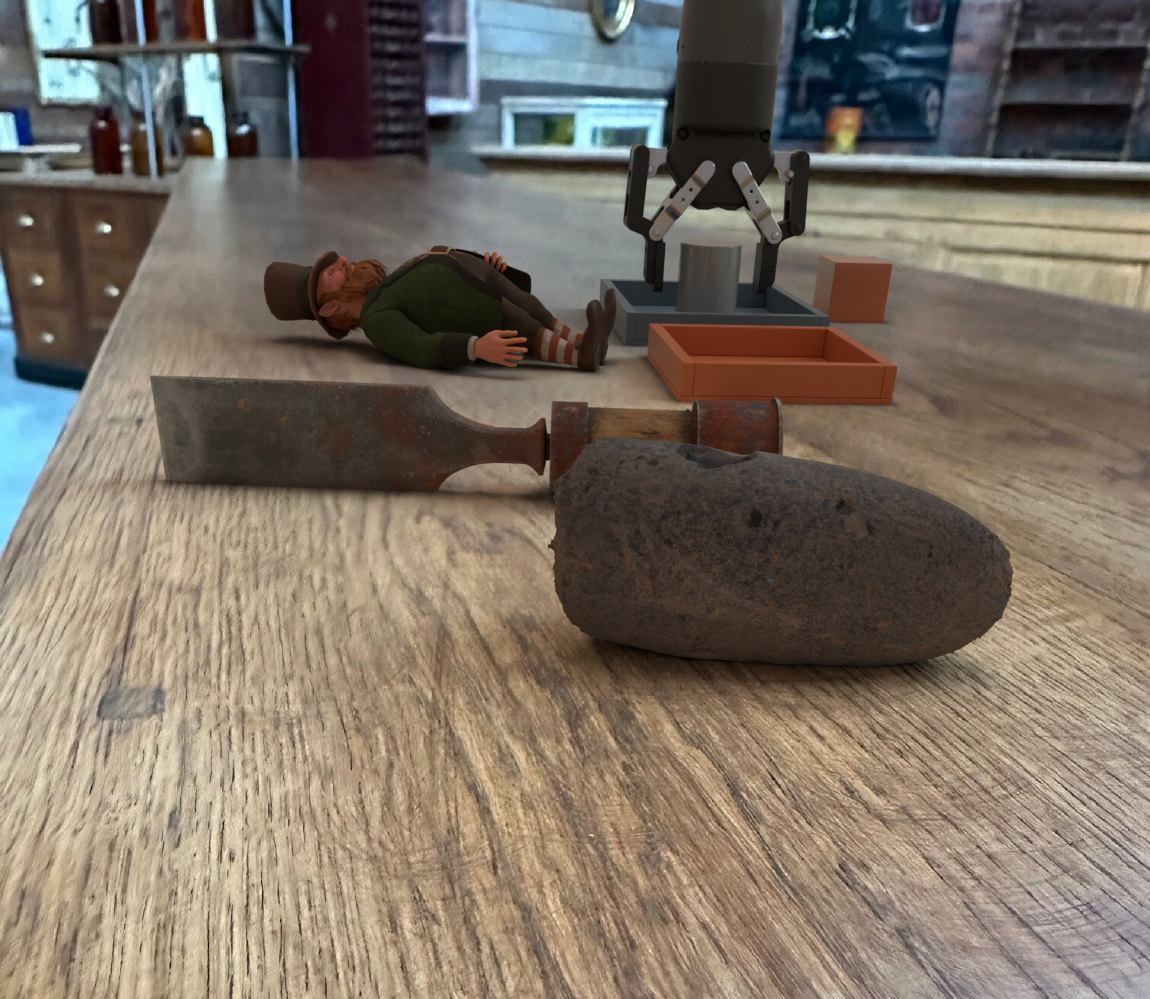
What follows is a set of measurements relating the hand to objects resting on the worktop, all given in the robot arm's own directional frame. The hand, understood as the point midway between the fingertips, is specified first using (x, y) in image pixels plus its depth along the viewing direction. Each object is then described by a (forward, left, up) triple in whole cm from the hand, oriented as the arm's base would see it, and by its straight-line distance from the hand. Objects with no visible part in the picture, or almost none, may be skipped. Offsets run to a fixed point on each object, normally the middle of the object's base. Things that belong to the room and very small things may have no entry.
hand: (707, 292), depth 92 cm
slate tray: (0, 0, -3) cm, 3 cm away
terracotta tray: (0, +20, -3) cm, 20 cm away
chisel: (+20, +45, -3) cm, 50 cm away
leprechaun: (+22, +14, -3) cm, 26 cm away
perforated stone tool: (+10, +63, -3) cm, 64 cm away
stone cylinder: (0, 0, -2) cm, 2 cm away
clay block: (-14, -6, -3) cm, 16 cm away
